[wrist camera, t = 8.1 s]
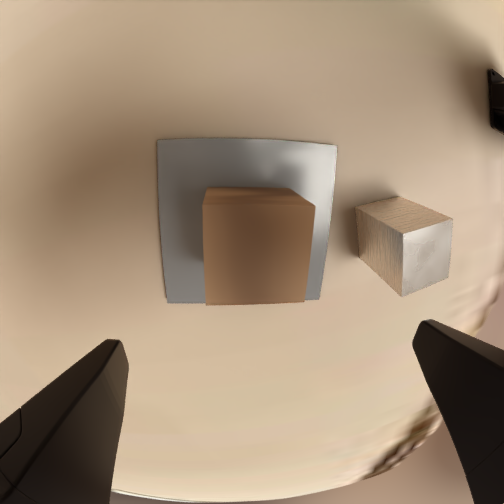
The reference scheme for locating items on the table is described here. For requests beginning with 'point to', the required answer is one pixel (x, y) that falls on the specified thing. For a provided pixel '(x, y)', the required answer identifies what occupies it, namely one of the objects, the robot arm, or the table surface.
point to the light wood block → (404, 243)
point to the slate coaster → (234, 175)
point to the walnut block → (256, 245)
